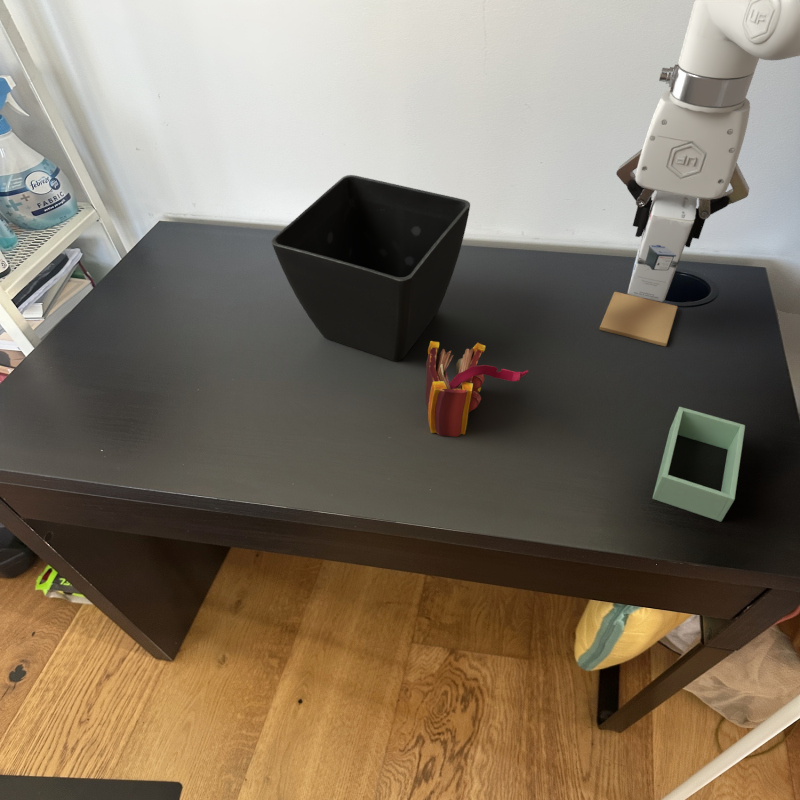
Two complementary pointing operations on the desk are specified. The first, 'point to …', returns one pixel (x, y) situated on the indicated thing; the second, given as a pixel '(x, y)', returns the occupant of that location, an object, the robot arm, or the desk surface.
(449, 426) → the book monster
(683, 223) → the ink box
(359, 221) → the flower pot
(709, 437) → the sleeve
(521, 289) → the desk surface
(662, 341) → the coaster board
